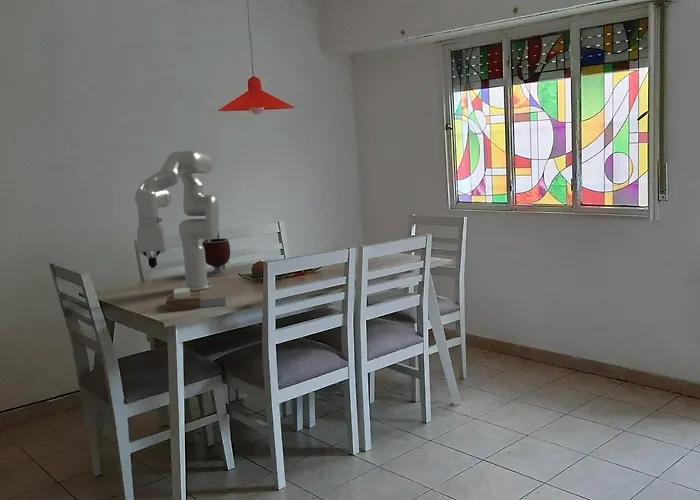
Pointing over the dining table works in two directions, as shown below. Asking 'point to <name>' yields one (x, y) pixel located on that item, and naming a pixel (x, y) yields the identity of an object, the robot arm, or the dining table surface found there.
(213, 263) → the mate gourd
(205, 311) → the dining table surface
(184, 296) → the tile
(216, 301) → the mat
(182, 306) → the panel
